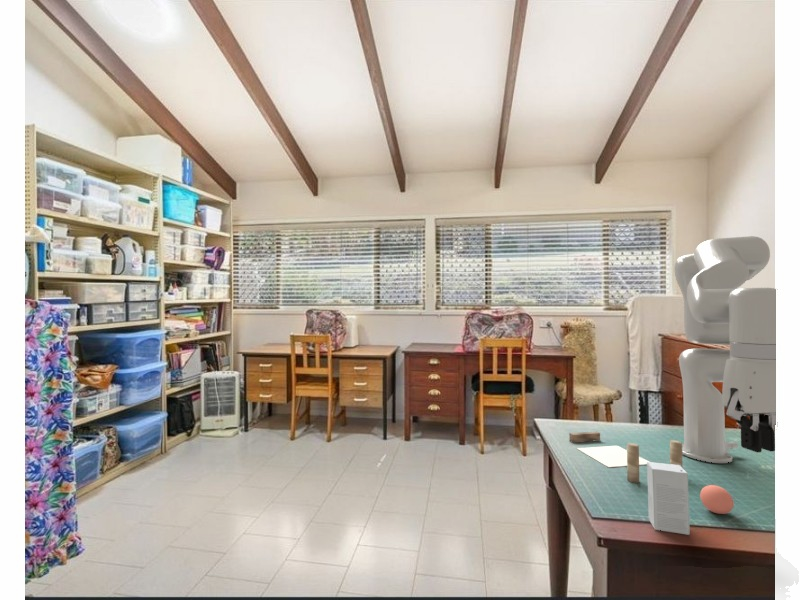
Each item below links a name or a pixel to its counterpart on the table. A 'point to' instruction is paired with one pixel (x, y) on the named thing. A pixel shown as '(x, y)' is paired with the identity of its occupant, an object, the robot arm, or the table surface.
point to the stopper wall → (584, 436)
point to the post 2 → (676, 453)
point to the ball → (716, 499)
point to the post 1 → (633, 463)
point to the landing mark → (610, 455)
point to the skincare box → (668, 497)
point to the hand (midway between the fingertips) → (757, 448)
